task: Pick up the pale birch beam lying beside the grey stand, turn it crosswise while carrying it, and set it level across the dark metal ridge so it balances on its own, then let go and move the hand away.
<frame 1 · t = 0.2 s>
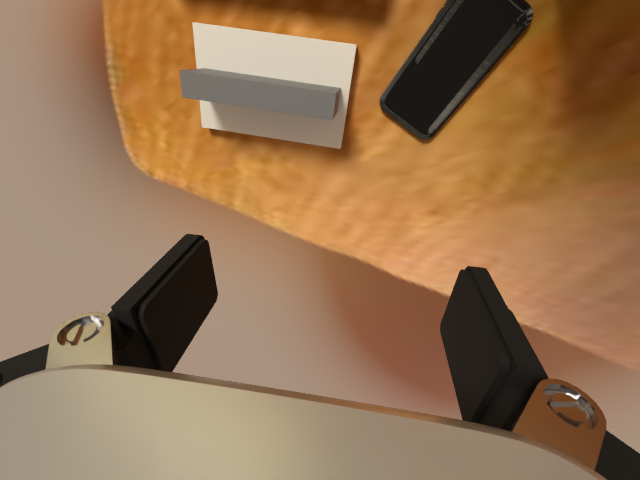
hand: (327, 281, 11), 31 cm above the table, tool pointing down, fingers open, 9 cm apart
ridge stand: (275, 88, 36), on the table
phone: (446, 62, 33), on the table
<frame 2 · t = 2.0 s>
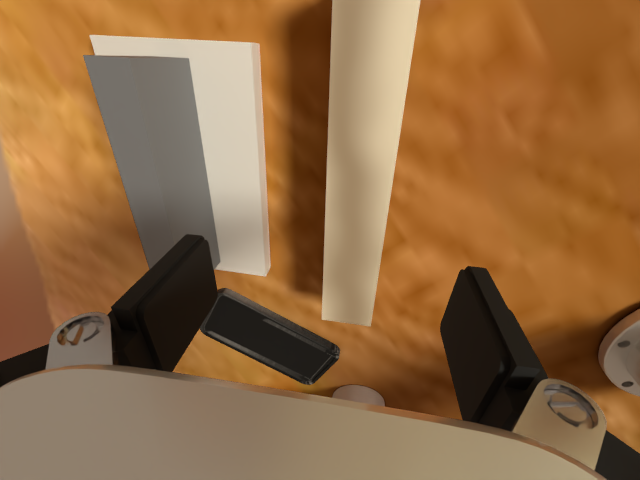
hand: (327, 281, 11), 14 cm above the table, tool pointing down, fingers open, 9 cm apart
coffee cup: (358, 399, 38), on the table
ridge stand: (202, 170, 25), on the table
beam: (361, 172, 23), on the table
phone: (271, 333, 35), on the table
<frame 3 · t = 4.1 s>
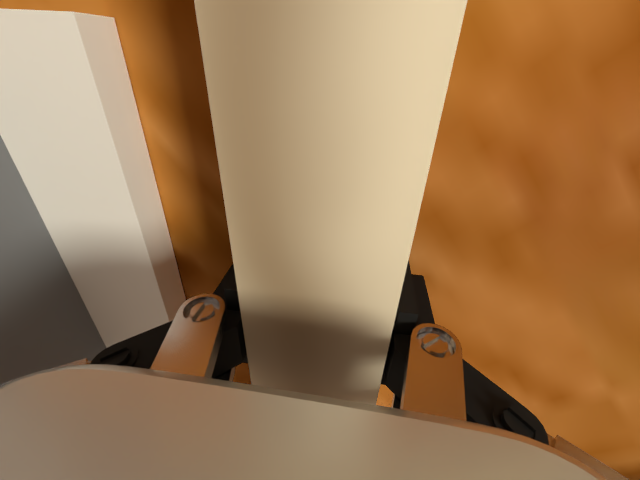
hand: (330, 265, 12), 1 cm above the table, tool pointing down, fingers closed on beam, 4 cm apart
ridge stand: (68, 243, 15), on the table
beam: (332, 255, 13), on the table, touching gripper
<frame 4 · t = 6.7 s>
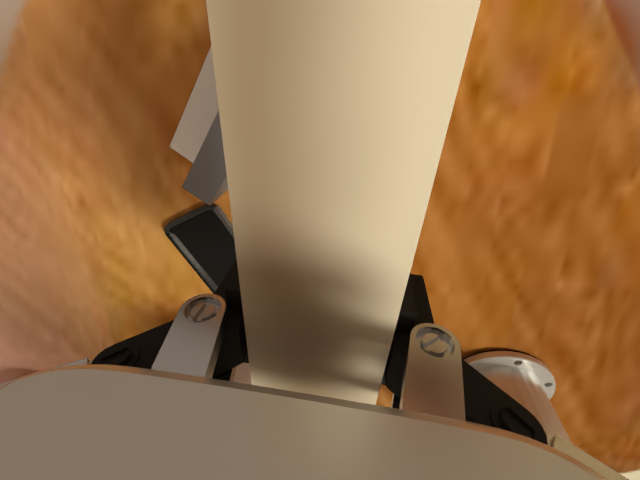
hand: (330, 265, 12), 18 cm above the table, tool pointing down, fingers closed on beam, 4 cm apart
ridge stand: (271, 98, 26), on the table
beam: (333, 255, 13), point 17 cm above the table, touching gripper
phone: (229, 261, 37), on the table
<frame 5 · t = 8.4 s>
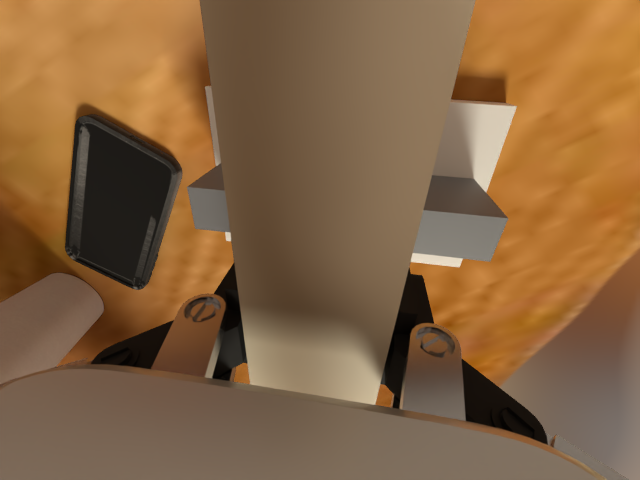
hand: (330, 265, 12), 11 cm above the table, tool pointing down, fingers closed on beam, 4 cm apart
coffee cup: (76, 295, 33), on the table
ridge stand: (346, 178, 22), on the table
beam: (332, 255, 13), point 10 cm above the table, touching gripper
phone: (126, 211, 27), on the table
when the fingers open (8 cm above the table, at t = 9.6 s): beam stays where it is, resting on ridge stand.
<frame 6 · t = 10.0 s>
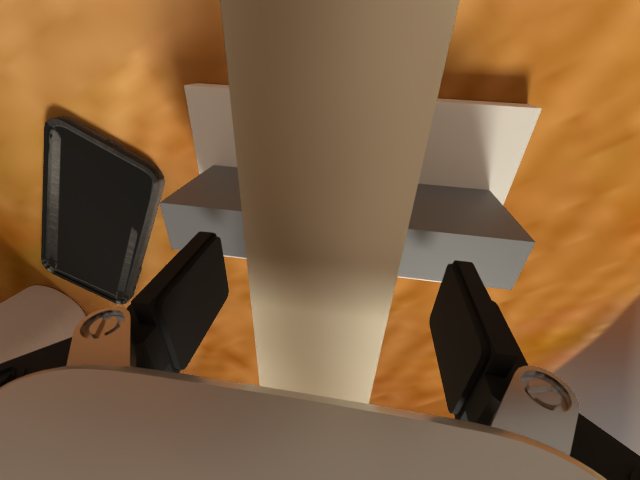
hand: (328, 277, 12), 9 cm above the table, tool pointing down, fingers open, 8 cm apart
coffee cup: (58, 308, 31), on the table
ridge stand: (345, 187, 19), on the table
beam: (333, 246, 13), point 7 cm above the table, touching ridge stand
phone: (106, 221, 24), on the table
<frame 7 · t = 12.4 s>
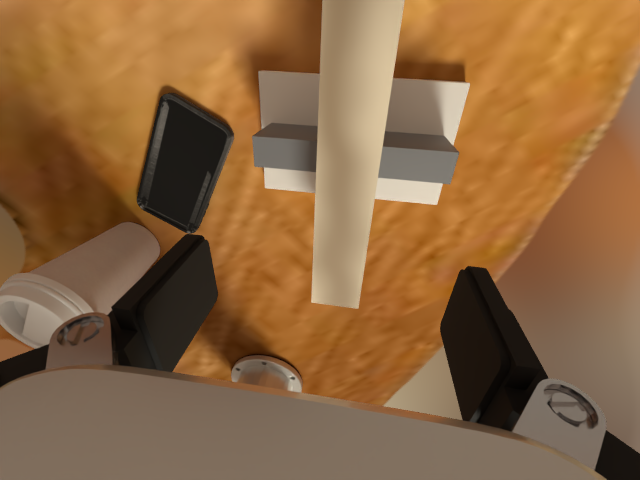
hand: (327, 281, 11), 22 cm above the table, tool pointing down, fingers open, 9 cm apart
coffee cup: (138, 242, 41), on the table
ridge stand: (354, 138, 30), on the table
beam: (350, 160, 24), point 7 cm above the table, touching ridge stand
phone: (186, 169, 35), on the table
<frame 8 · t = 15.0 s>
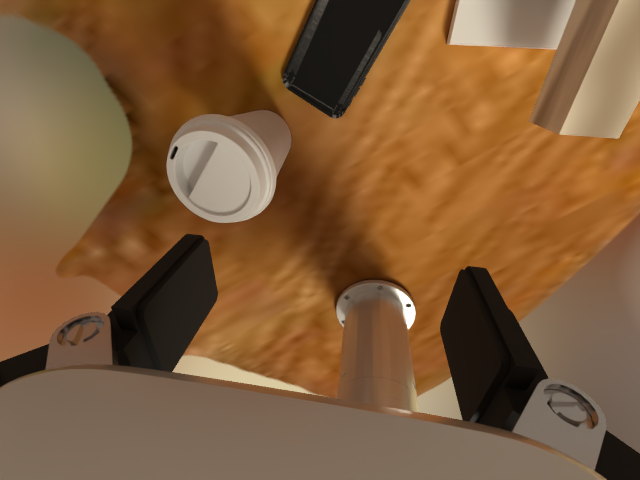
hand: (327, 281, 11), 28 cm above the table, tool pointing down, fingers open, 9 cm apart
coffee cup: (266, 137, 38), on the table
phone: (346, 34, 31), on the table
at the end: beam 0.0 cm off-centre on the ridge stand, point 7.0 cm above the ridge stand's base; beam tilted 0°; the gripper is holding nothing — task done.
